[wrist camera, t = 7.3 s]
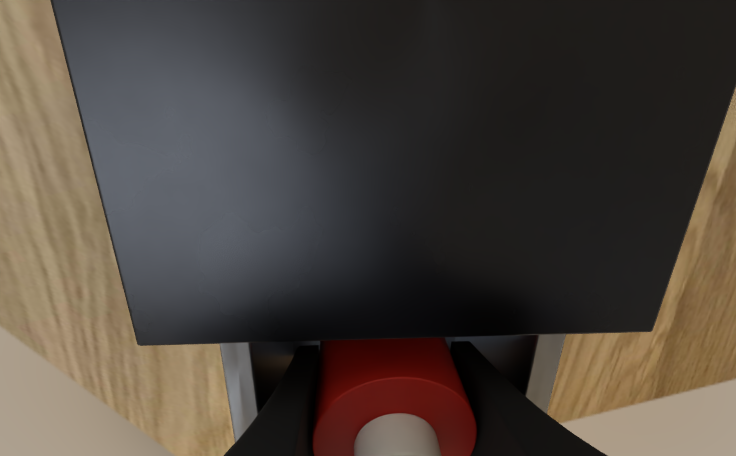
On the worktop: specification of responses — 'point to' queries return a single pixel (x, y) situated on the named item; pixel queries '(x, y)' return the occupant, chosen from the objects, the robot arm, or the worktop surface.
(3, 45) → the worktop surface
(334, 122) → the cabinet
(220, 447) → the worktop surface
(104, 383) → the worktop surface
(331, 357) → the bottle
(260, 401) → the drawer
